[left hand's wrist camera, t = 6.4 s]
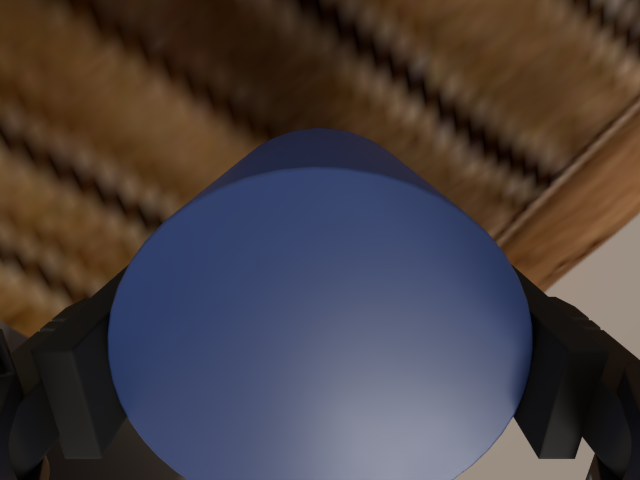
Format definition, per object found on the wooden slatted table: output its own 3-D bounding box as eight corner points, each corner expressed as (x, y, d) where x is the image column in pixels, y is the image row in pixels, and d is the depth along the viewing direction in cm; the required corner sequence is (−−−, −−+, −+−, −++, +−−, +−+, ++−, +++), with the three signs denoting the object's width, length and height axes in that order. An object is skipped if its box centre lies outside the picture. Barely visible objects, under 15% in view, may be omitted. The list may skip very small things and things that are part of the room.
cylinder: (256, 348, 18) (206, 546, 10) (178, 166, 15) (19, 245, 7) (443, 300, 17) (551, 478, 9) (401, 97, 14) (507, 98, 6)
